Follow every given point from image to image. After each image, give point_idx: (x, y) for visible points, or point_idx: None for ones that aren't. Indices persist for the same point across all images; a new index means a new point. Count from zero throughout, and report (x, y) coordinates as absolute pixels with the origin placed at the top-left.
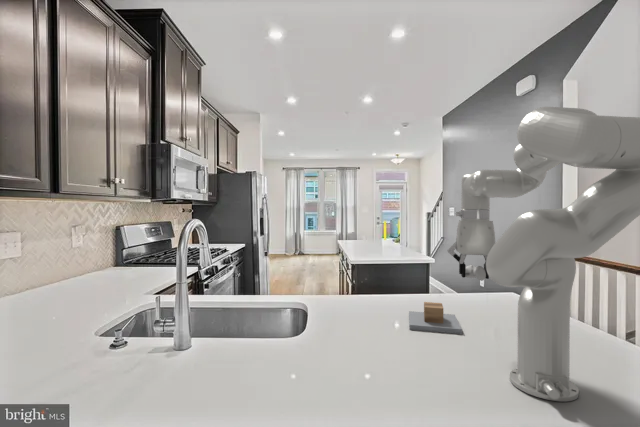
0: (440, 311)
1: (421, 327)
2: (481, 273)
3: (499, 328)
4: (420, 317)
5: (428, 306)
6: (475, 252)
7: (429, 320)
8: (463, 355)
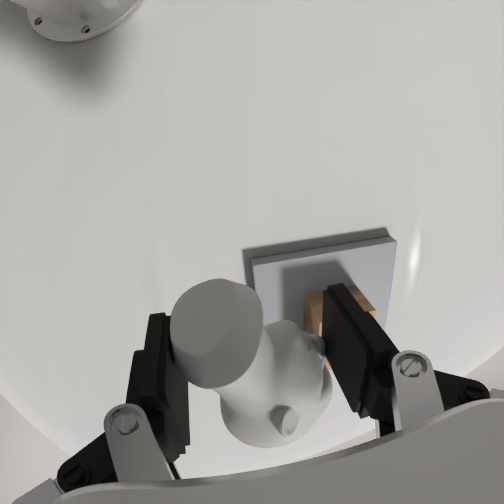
0: None
1: (365, 244)
2: (206, 311)
3: None
4: None
5: None
6: (334, 481)
7: None
8: (255, 80)
